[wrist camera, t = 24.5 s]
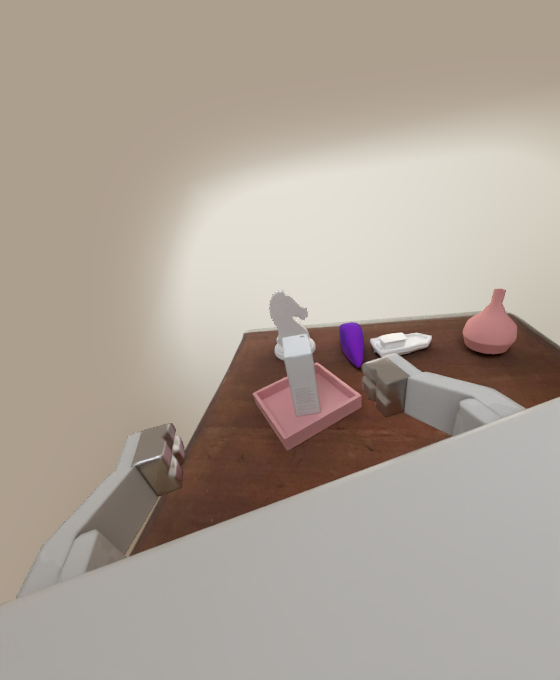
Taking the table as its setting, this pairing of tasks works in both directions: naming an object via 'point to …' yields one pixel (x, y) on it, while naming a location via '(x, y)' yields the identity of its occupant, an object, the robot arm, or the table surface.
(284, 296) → the chess piece
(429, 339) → the white toy boat
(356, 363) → the purple rounded wedge
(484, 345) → the pink vase
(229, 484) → the table surface
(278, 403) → the tray
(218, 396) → the table surface
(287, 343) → the cosmetic box
